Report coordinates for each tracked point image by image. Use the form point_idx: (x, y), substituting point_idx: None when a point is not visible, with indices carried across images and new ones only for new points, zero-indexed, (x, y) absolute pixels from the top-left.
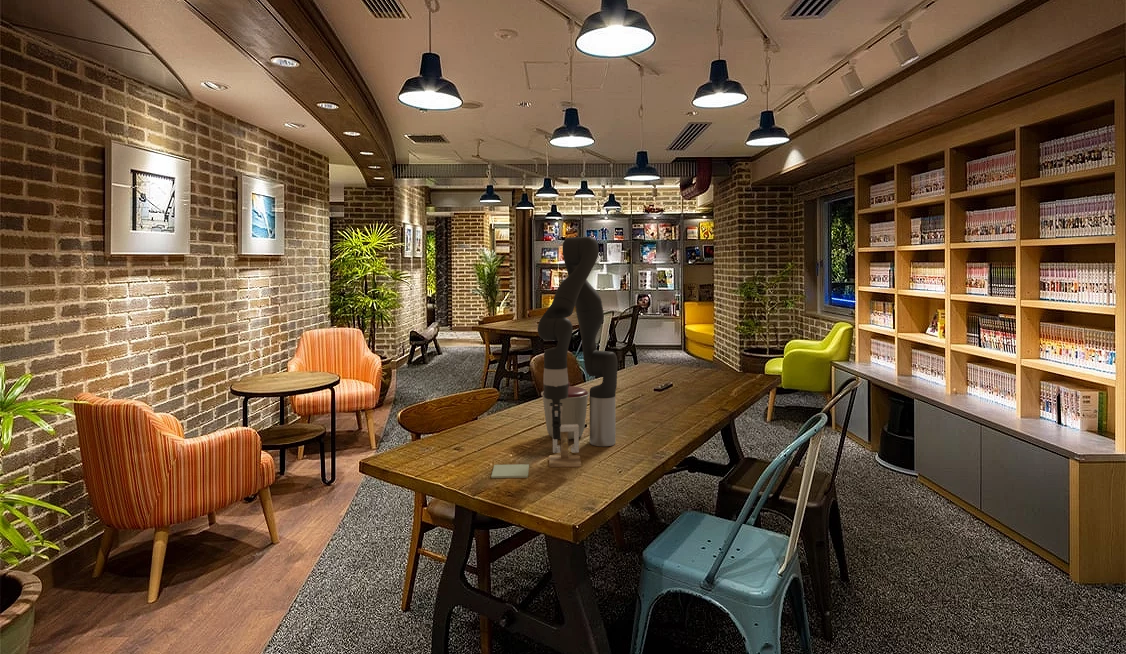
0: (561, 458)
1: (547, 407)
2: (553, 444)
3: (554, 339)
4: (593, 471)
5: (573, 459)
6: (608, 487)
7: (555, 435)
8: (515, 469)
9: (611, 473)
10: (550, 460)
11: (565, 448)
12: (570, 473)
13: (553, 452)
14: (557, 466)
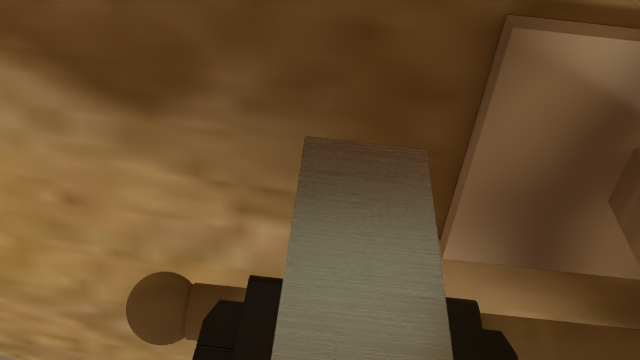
0: (633, 152)
1: None
2: (294, 212)
3: None
4: None
5: (563, 229)
6: (13, 302)
7: (197, 348)
8: None
9: None
10: (620, 50)
11: (130, 298)
12: (288, 156)
13: (305, 144)
14: (486, 86)
